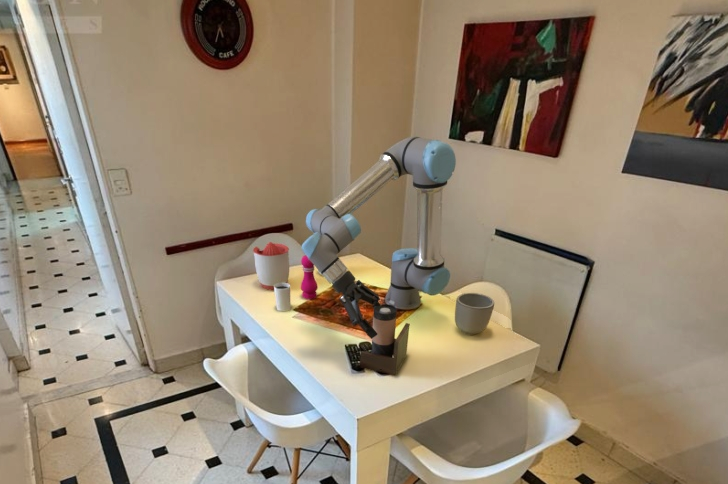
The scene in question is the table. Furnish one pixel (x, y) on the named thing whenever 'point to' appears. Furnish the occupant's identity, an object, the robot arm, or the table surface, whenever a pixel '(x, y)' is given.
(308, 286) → the pepper mill
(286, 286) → the white cup
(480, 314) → the planter
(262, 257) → the citrus juicer
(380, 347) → the travel mug
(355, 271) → the table surface
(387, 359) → the shelf rack
